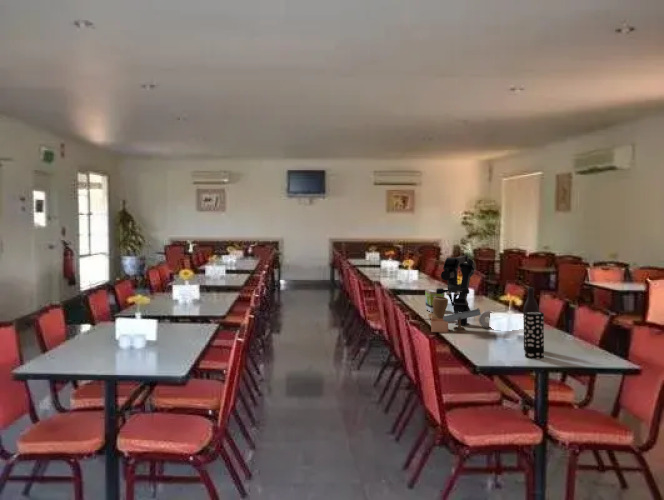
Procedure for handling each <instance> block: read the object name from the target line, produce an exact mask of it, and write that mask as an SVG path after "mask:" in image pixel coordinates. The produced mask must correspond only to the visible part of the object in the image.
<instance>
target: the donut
mask: <svg viewBox="0 0 664 500" xmlns="http://www.w3.org/2000/svg"><path fill="white" fill-rule="evenodd" d="M480 313H481V315H479V316H478V322H479V324H480V325H481V327H483V328H484V329H489V328H488V327H489V321H486V318H487V317H488V318H489V319H490V313H493V312H492V311H490V310H483V312H480Z"/></svg>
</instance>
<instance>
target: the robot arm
mask: <svg viewBox="0 0 664 500" xmlns="http://www.w3.org/2000/svg"><path fill="white" fill-rule="evenodd" d="M459 267H460V272H461V274H462V277H461V282H460V283H461V284H460V283H458V271H459ZM475 270H476V264H475V261H474V260H472V259H471V258H470V256H469V255H462V254H461V255H459V256H456V257H446V258H445V261H444V264H443V271H442V272H441V274H440V278H441V279H442V280H443V281H447V289H444V288H443V287H441V288H439V287H437V288H435V289H436V293H437V294H442V293H444V294H446V296H448V299H449V300H450V303H451V304H450V305H451V306H452V307H453V312H454V313H453V314H457V313H461V312H466V311H471V310H472V309H470V305H469V301H468V299H467V298H468V295H469V294H470V289H469V288H470V283H471V282H470V281H471V277H472V276H473V275H475V274H474V273H475ZM452 293H453V296H452ZM455 325H457V326H458V322H457V323H456V322H455ZM468 325H470V322H468V318H464V319H461V326H468Z"/></svg>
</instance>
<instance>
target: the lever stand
mask: <svg viewBox="0 0 664 500" xmlns="http://www.w3.org/2000/svg"><path fill="white" fill-rule="evenodd" d="M457 323H458V325H457V326H453V330H454V331H453V332H454V333H455V334H458V333H459V334H464V333H466V330H465V326H462V325H461V318H459V320H457Z"/></svg>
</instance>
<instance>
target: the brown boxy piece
mask: <svg viewBox="0 0 664 500" xmlns="http://www.w3.org/2000/svg"><path fill="white" fill-rule="evenodd" d="M430 329H431V330H430V332H431V333H449V322H448V321H444V320H443V319H432V315H431V319H430Z"/></svg>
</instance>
